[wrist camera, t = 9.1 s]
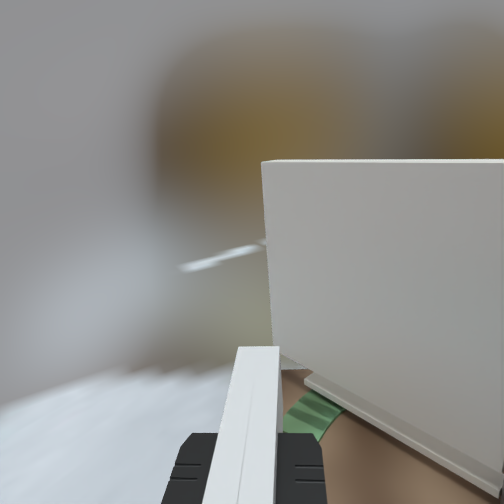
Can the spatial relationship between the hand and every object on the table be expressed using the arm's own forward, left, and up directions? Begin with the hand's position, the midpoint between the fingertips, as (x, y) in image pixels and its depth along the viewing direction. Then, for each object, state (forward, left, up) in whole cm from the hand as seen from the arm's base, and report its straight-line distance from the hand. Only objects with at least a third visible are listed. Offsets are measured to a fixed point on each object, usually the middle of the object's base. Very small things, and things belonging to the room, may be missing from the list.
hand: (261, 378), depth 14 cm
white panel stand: (-3, -7, -6) cm, 10 cm away
